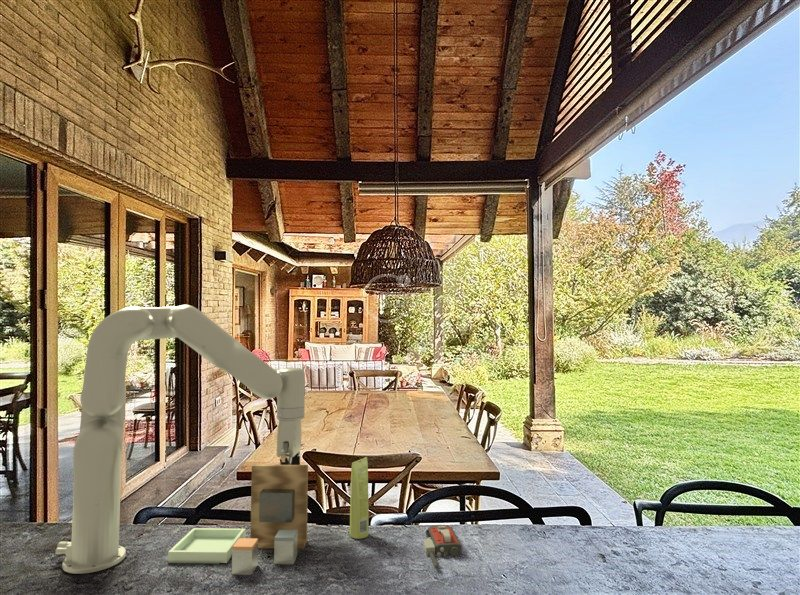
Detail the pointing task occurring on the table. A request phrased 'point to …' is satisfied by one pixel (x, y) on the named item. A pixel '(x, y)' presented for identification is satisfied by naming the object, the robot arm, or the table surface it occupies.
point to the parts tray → (206, 546)
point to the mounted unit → (279, 502)
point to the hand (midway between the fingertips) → (289, 475)
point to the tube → (359, 500)
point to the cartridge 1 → (245, 556)
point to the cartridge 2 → (285, 546)
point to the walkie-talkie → (441, 542)
